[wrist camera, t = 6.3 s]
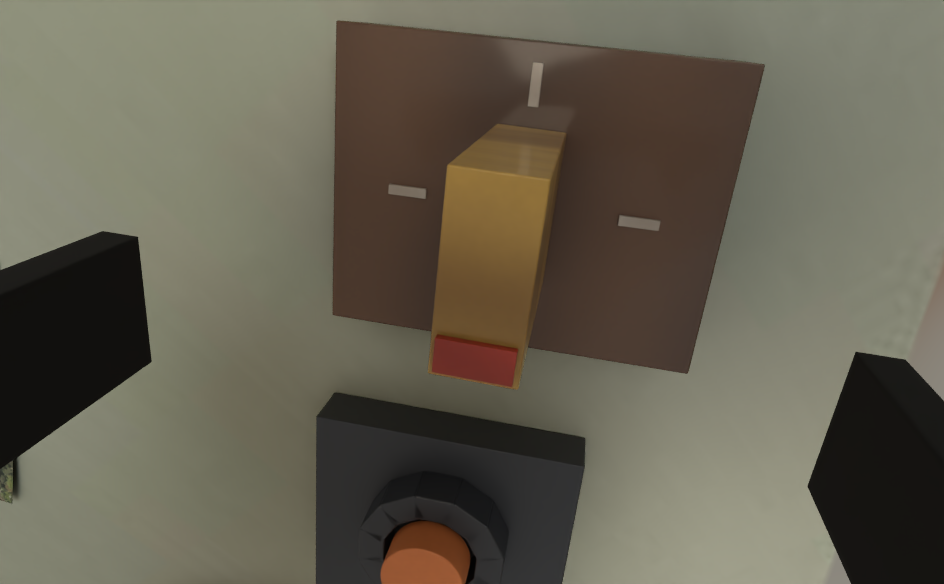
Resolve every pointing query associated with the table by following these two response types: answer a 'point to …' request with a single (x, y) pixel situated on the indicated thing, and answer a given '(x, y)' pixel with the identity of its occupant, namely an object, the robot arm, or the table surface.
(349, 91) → the plate
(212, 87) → the table surface
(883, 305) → the table surface
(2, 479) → the eiffel tower figurine
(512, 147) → the tan rectangular block
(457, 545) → the bell button
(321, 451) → the doorbell
